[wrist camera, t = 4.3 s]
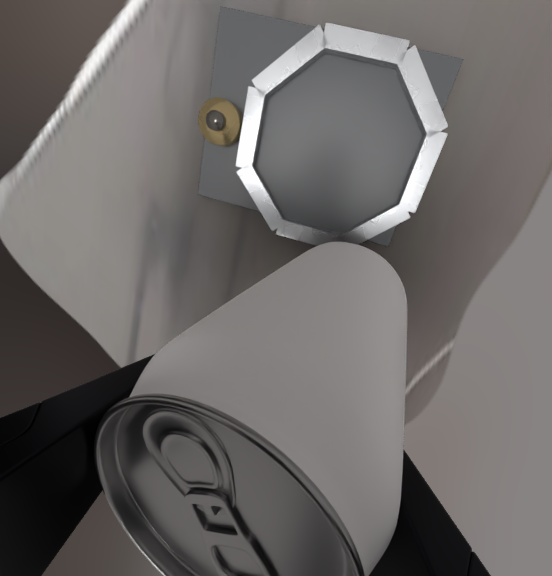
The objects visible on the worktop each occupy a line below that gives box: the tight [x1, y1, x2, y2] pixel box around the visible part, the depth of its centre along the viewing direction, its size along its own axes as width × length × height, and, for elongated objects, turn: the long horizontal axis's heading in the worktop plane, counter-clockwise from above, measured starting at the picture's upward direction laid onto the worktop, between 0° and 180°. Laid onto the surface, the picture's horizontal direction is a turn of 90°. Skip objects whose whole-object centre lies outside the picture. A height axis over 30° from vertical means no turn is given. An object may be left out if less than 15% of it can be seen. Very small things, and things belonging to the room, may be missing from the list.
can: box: [94, 242, 407, 576], centre depth 11 cm, size 6×6×12 cm
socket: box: [236, 23, 448, 246], centre depth 17 cm, size 11×11×1 cm
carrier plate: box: [198, 6, 463, 246], centre depth 18 cm, size 10×13×1 cm
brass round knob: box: [198, 97, 243, 146], centre depth 17 cm, size 2×2×2 cm
